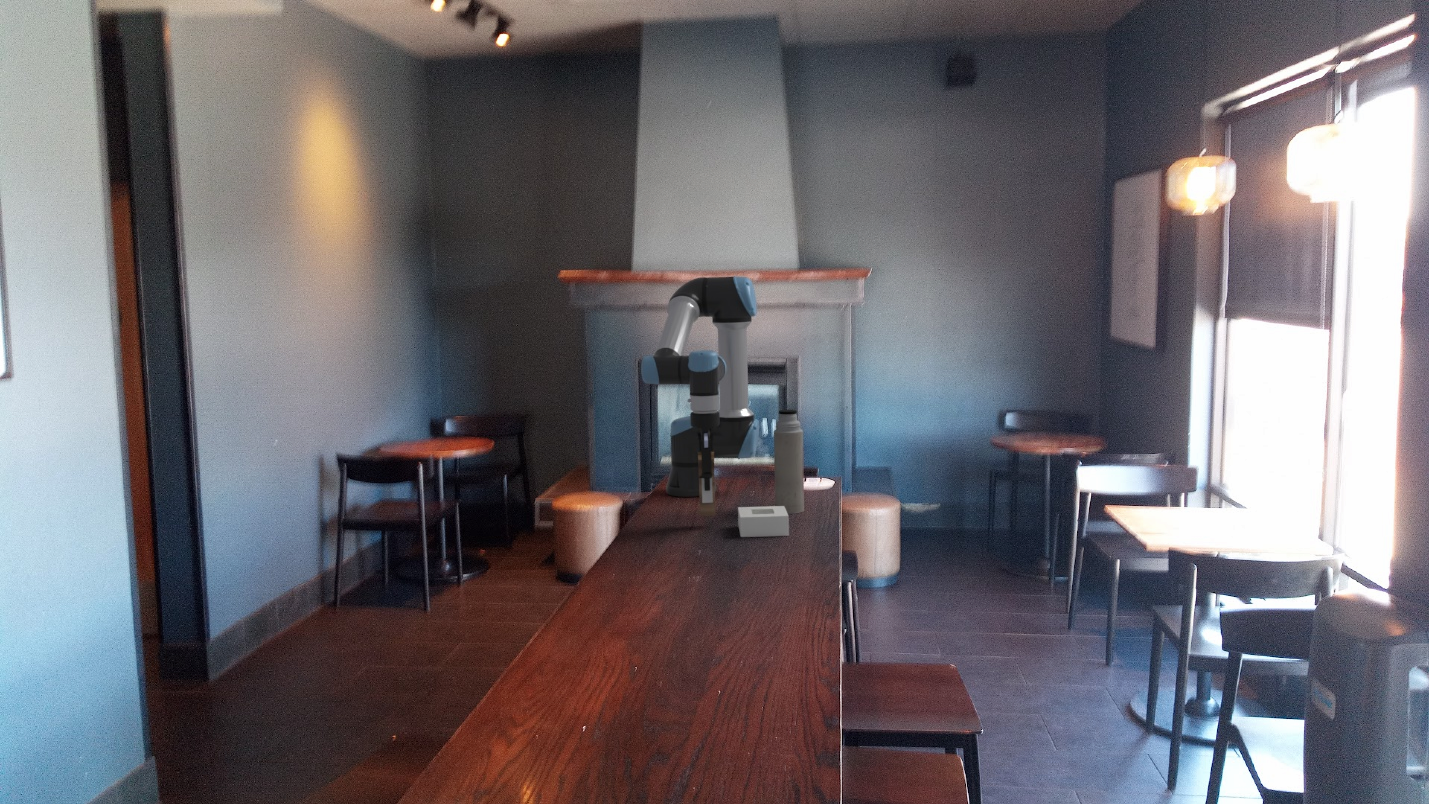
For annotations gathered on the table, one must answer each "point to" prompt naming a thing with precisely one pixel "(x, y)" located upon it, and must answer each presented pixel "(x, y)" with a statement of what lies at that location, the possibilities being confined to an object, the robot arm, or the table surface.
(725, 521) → the table surface
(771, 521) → the socket block
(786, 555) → the table surface
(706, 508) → the bronze peg
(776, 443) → the thermos bottle
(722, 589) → the table surface
